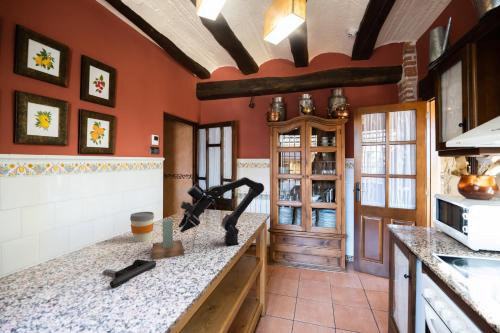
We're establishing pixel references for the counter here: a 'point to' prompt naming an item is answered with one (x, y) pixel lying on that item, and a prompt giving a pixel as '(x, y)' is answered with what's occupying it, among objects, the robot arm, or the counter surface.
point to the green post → (167, 233)
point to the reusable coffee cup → (142, 226)
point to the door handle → (129, 272)
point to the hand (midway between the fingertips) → (179, 229)
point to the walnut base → (167, 250)
